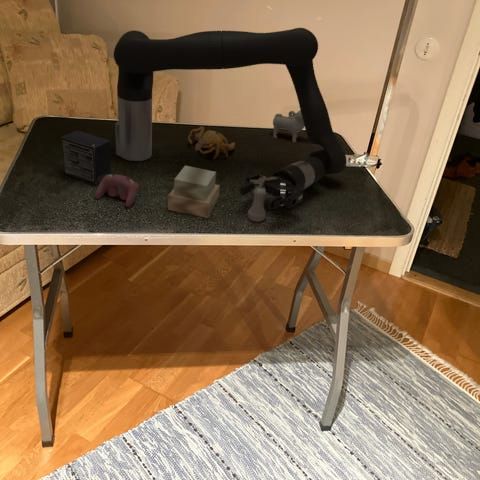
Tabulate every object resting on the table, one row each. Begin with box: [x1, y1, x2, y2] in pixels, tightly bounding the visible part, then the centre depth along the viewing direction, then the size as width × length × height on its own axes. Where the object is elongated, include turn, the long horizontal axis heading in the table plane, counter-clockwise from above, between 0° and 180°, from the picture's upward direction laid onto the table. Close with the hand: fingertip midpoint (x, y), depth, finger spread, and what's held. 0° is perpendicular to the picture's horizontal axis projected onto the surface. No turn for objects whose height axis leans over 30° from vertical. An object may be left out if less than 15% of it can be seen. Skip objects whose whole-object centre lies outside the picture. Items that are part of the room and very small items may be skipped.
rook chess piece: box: [247, 186, 268, 223], centre depth 119 cm, size 4×4×8 cm
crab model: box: [187, 125, 236, 160], centre depth 151 cm, size 16×13×6 cm
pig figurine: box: [272, 110, 305, 143], centre depth 163 cm, size 5×13×11 cm, turn 75°
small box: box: [60, 130, 111, 186], centre depth 127 cm, size 11×6×10 cm, turn 65°
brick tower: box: [167, 165, 221, 219], centre depth 121 cm, size 10×10×8 cm
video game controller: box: [94, 173, 140, 209], centre depth 120 cm, size 10×5×7 cm, turn 72°
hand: (255, 198), depth 117 cm, fingers open, 8 cm apart
